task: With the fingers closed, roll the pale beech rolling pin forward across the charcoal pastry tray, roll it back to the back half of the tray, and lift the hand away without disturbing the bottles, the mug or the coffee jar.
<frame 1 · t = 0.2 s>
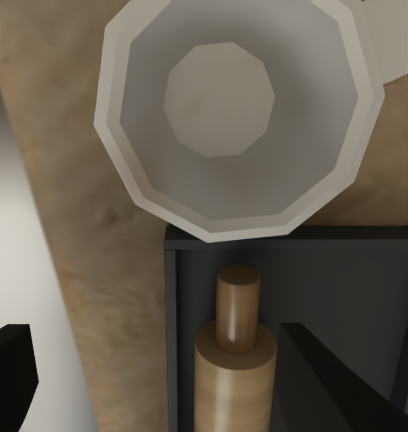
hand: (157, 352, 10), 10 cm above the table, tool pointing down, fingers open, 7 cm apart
pastry tray: (286, 377, 24), on the table
rolling pin: (232, 412, 21), point 3 cm above the table, touching pastry tray
mug: (256, 84, 18), on the table
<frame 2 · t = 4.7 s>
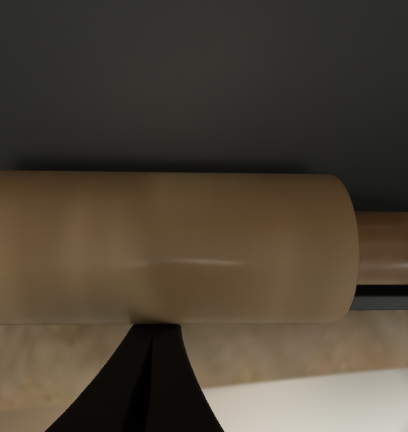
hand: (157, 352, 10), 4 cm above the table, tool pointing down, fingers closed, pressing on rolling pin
pastry tray: (163, 73, 12), on the table
rolling pin: (159, 246, 11), point 3 cm above the table, tilted 29°, touching gripper, pastry tray
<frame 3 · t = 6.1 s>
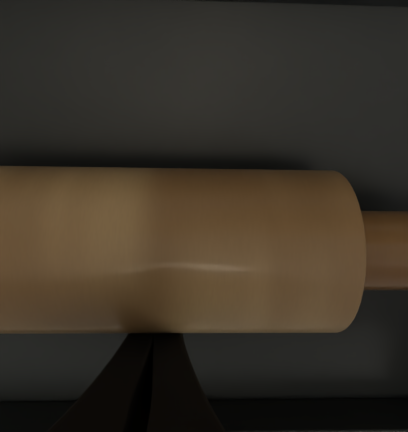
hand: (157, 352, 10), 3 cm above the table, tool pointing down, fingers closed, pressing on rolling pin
pastry tray: (164, 232, 13), on the table
rolling pin: (148, 248, 10), point 3 cm above the table, tilted 90°, touching gripper, pastry tray
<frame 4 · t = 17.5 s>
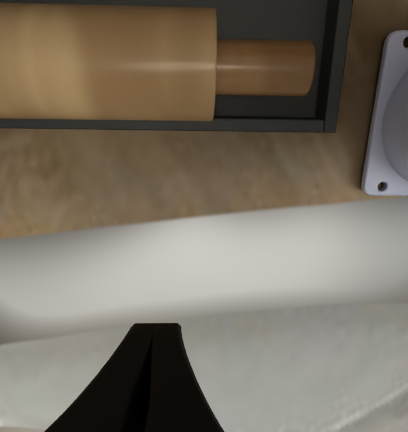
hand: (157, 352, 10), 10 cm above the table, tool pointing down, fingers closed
rolling pin: (94, 65, 15), point 3 cm above the table, touching pastry tray
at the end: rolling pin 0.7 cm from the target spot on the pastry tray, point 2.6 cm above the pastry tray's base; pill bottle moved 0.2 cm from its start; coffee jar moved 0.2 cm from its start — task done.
